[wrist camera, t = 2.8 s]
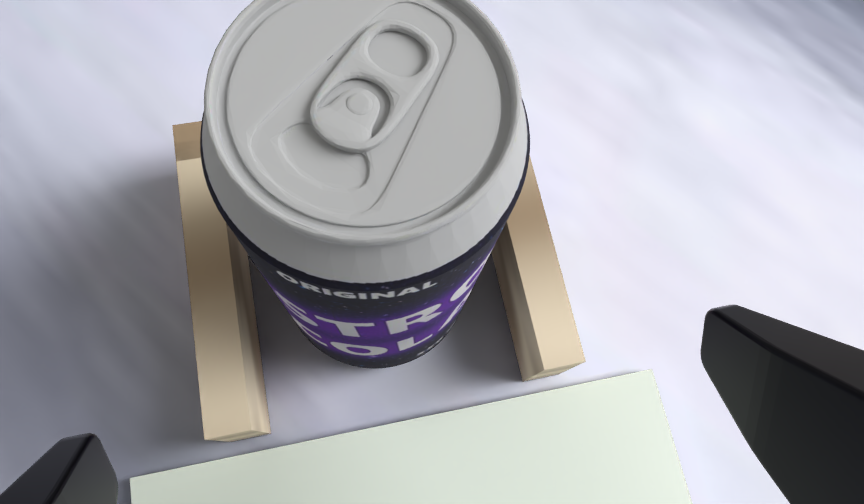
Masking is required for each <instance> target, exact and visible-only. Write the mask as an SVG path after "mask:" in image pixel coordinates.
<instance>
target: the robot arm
mask: <svg viewBox="0 0 864 504" xmlns="http://www.w3.org/2000/svg"><path fill="white" fill-rule="evenodd" d="M701 360H702V363H703V366H704V368H705V370H706V372H707V374H708V375H709V377H710V379H711V381H712V382H713V384H714V386H715V387H716V389H717V391H718V393H719V394H720V396H721V398H722V400H723V401H724V403H725V405H726V407H727V408H728V410H729V412H730V414H731V415H732V417H733V419H734V421H735V422H736V424H737V426H738V428H739V429H740V431H741V433H742V435H743V436H744V438H745V440H746V441H747V443H748V444H749V446H750V448H751V449H752V451H753V452H754V454H755V455H756V457H757V458H758V460H759V461H760V462H761V464H762V465H763V467H764V468H765V469H766V471H767V472H768V474H769V475H770V476H771V478H772V479H773V481H774V482H775V483H776V485H777V486H778V487H779V489H780V490H781V492H782V493H783V494H784V496H785V497H786V499H787V500H788V501H789V503H790V504H864V350H861V349H858V348H855V347H852V346H850V345H847V344H844V343H841V342H838V341H836V340H833V339H830V338H827V337H825V336H822V335H819V334H816V333H813V332H811V331H808V330H805V329H802V328H799V327H797V326H794V325H791V324H788V323H786V322H783V321H780V320H777V319H774V318H772V317H769V316H766V315H763V314H760V313H758V312H755V311H752V310H749V309H747V308H744V307H741V306H738V305H727V306H722V307H717V308H713V309H711V310H709V311H708V312H707V314H706V316H705V321H704V329H703V337H702V344H701ZM117 496H118V482H117V477H116V474H115V472H114V469H113V467H112V465H111V463H110V461H109V459H108V457H107V454H106V452H105V450H104V448H103V446H102V444H101V442H100V440H99V438H98V437H97V436H96V435H95V434H92V433H87V434H82V435H77V436H72V437H67V438H63V439H61V440H60V441H58V442H57V443H56V444H55V445H54V446H53V447H52V448H51V449H49V450H48V451H47V452H46V453H45V454H44V455H43V456H42V457H41V458H40V459H39V460H38V461H37V462H35V463H34V464H33V465H32V466H31V467H30V468H29V469H28V470H27V471H26V472H25V473H24V474H22V475H21V476H20V477H19V478H18V479H17V480H16V481H15V482H14V483H13V484H12V485H11V486H10V487H8V488H7V489H6V490H5V491H4V492H3V493H2V494H1V495H0V504H117Z"/></svg>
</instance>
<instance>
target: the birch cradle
mask: <svg viewBox="0 0 864 504" xmlns="http://www.w3.org/2000/svg"><path fill="white" fill-rule="evenodd" d="M201 123H202V121H199V122H192V123H185V124H178V125H173V135H174V145H175V155H176V165H177V175H178V184H179V194H180V204H181V214H182V224H183V234H184V243H185V253H186V263H187V273H188V283H189V293H190V303H191V312H192V322H193V332H194V342H195V352H196V362H197V372H198V381H199V391H200V401H201V411H202V421H203V431H204V440H215V441H227V442H233V441H238V440H242V439H247V438H252V437H257V436H262V435H267V434H271V430H270V422H269V415H268V407H267V399H266V391H265V384H264V376H263V368H262V361H261V353H260V345H259V338H258V330H257V322H256V315H255V307H254V299H253V291H252V284H251V276H250V268H249V261H248V253H247V252H246V250H245V249H244V248H243V246H242V245H241V243H240V242H239V240H238V239H237V238H236V236H235V235H234V233H233V232H232V230H231V229H230V227H229V226H228V225H227V223H226V222H225V220H224V219H223V217H222V215H221V214H220V212H219V211H218V209H217V207H216V205H215V203H214V201H213V199H212V197H211V194H210V192H209V189H208V187H207V183H206V180H205V176H204V172H203V167H202V162H201V153H200V133H201ZM491 252H492V257H493V261H494V265H495V269H496V273H497V277H498V281H499V285H500V290H501V294H502V298H503V302H504V306H505V310H506V314H507V318H508V323H509V327H510V331H511V335H512V339H513V343H514V347H515V351H516V356H517V360H518V364H519V368H520V372H521V376H522V380H523V381H528V380H533V379H538V378H543V377H548V376H553V375H557V374H560V373H562V372H564V371H567V370H569V369H571V368H573V367H575V366H577V365H579V364H581V363H583V362H586V361H585V357H584V354H583V350H582V346H581V343H580V339H579V335H578V332H577V328H576V324H575V321H574V317H573V313H572V310H571V306H570V302H569V298H568V295H567V291H566V287H565V284H564V280H563V276H562V273H561V269H560V265H559V262H558V258H557V254H556V251H555V247H554V243H553V240H552V236H551V232H550V229H549V225H548V221H547V218H546V214H545V210H544V207H543V203H542V199H541V196H540V192H539V188H538V185H537V181H536V177H535V174H534V170H533V166H532V162H531V159H530V155H529V163H528V169H527V174H526V177H525V181H524V185H523V187H522V190H521V193H520V195H519V198H518V200H517V202H516V204H515V206H514V208H513V210H512V212H511V214H510V216H509V218H508V220H507V222H506V224H505V226H504V228H503V230H502V232H501V234H500V236H499V237H498V239H497V241H496V243H495V245H494V247H493V249H492V251H491Z"/></svg>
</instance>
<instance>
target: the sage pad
mask: <svg viewBox="0 0 864 504" xmlns="http://www.w3.org/2000/svg"><path fill="white" fill-rule="evenodd" d="M130 488H131V503H132V504H692V500H691V497H690V494H689V490H688V487H687V484H686V480H685V477H684V474H683V470H682V467H681V464H680V460H679V457H678V454H677V450H676V447H675V444H674V440H673V437H672V434H671V431H670V427H669V424H668V421H667V417H666V414H665V411H664V407H663V404H662V401H661V397H660V394H659V391H658V387H657V384H656V381H655V377H654V374H653V371H652V369H649V370H644V371H640V372H635V373H630V374H625V375H621V376H616V377H611V378H606V379H601V380H597V381H592V382H587V383H582V384H578V385H573V386H568V387H563V388H558V389H554V390H549V391H544V392H539V393H535V394H530V395H525V396H520V397H515V398H511V399H506V400H501V401H496V402H492V403H487V404H482V405H477V406H472V407H468V408H463V409H458V410H453V411H448V412H444V413H439V414H434V415H429V416H425V417H420V418H415V419H410V420H405V421H401V422H396V423H391V424H386V425H382V426H377V427H372V428H367V429H362V430H358V431H353V432H348V433H343V434H339V435H334V436H329V437H324V438H319V439H315V440H310V441H305V442H300V443H296V444H291V445H286V446H281V447H276V448H272V449H267V450H262V451H257V452H252V453H248V454H243V455H238V456H233V457H229V458H224V459H219V460H214V461H209V462H205V463H200V464H195V465H190V466H186V467H181V468H176V469H171V470H166V471H162V472H157V473H152V474H147V475H143V476H138V477H133V478H130Z"/></svg>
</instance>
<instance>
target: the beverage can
mask: <svg viewBox="0 0 864 504" xmlns="http://www.w3.org/2000/svg"><path fill="white" fill-rule="evenodd" d="M200 153H201V162H202V167H203V172H204V176H205V180H206V183H207V187H208V189H209V192H210V194H211V197H212V199H213V201H214V203H215V205H216V207H217V209H218V211H219V212H220V214H221V215H222V217H223V219H224V220H225V222H226V223H227V225H228V226H229V227H230V229H231V230H232V232H233V233H234V235H235V236H236V238H237V239H238V240H239V242H240V243H241V245H242V246H243V248H244V249H245V250H246V252H247V253H248V255H249V256H250V258H251V259H252V261H253V262H254V263H255V265H256V266H257V268H258V269H259V271H260V272H261V273H262V275H263V276H264V278H265V279H266V281H267V282H268V284H269V285H270V286H271V288H272V289H273V291H274V292H275V294H276V295H277V297H278V298H279V299H280V301H281V302H282V304H283V305H284V307H285V308H286V309H287V311H288V312H289V314H290V315H291V317H292V318H293V320H294V321H295V322H296V324H297V325H298V327H299V328H300V330H301V331H302V332H303V334H304V335H305V336H306V337H307V338H308V340H309V341H310V342H311V343H312V344H313V345H315V346H316V347H317V348H318V349H319V350H321V351H322V352H324V353H325V354H327V355H328V356H330V357H332V358H334V359H336V360H338V361H340V362H343V363H346V364H349V365H353V366H357V367H364V368H386V367H393V366H397V365H401V364H404V363H407V362H410V361H412V360H414V359H417V358H418V357H420V356H422V355H424V354H425V353H427V352H428V351H430V350H431V349H432V348H434V347H435V346H436V345H437V344H438V343H439V342H440V341H441V340H442V339H443V338H444V337H445V336H446V335H447V333H448V332H449V331H450V329H451V328H452V326H453V325H454V323H455V321H456V319H457V317H458V315H459V314H460V312H461V310H462V308H463V306H464V304H465V302H466V300H467V298H468V296H469V294H470V292H471V290H472V288H473V286H474V284H475V282H476V280H477V278H478V276H479V275H480V273H481V271H482V269H483V267H484V265H485V263H486V261H487V259H488V257H489V255H490V253H491V251H492V249H493V247H494V245H495V243H496V241H497V239H498V237H499V236H500V234H501V232H502V230H503V228H504V226H505V224H506V222H507V220H508V218H509V216H510V214H511V212H512V210H513V208H514V206H515V204H516V202H517V200H518V198H519V195H520V193H521V190H522V187H523V185H524V181H525V177H526V174H527V169H528V163H529V153H530V134H529V124H528V119H527V114H526V110H525V106H524V103H523V100H522V97H521V88H520V82H519V77H518V72H517V69H516V66H515V64H514V61H513V58H512V55H511V52H510V50H509V48H508V47H507V45H506V43H505V41H504V40H503V38H502V36H501V34H500V32H499V31H498V30H497V29H496V27H495V26H494V25H493V24H492V22H491V21H490V20H489V18H488V17H487V16H486V15H485V14H484V13H483V12H482V11H481V10H480V9H479V8H478V7H477V6H476V5H475V4H473V3H472V2H471V1H470V0H254V1H253V2H252V3H251V4H250V5H248V6H247V7H246V8H245V9H244V10H243V11H242V12H241V13H240V14H239V15H238V16H237V18H236V19H235V20H234V21H233V23H232V24H231V25H230V26H229V28H228V29H227V30H226V32H225V34H224V35H223V37H222V39H221V41H220V42H219V44H218V46H217V48H216V49H215V52H214V55H213V58H212V61H211V63H210V66H209V69H208V73H207V79H206V85H205V92H204V113H203V117H202V123H201V133H200Z"/></svg>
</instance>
